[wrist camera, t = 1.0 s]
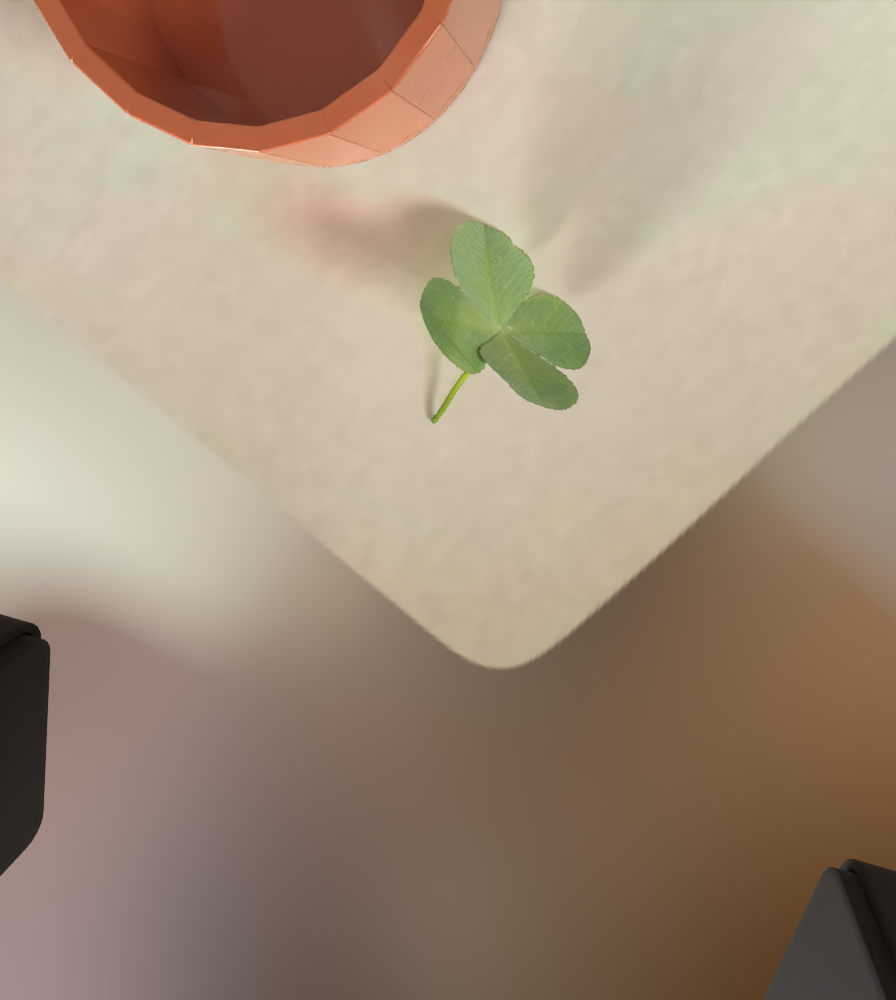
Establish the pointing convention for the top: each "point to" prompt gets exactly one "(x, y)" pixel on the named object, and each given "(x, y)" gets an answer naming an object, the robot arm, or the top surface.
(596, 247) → the top surface
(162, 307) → the top surface
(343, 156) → the planter
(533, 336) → the green leafy piece
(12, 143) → the top surface
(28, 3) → the top surface
